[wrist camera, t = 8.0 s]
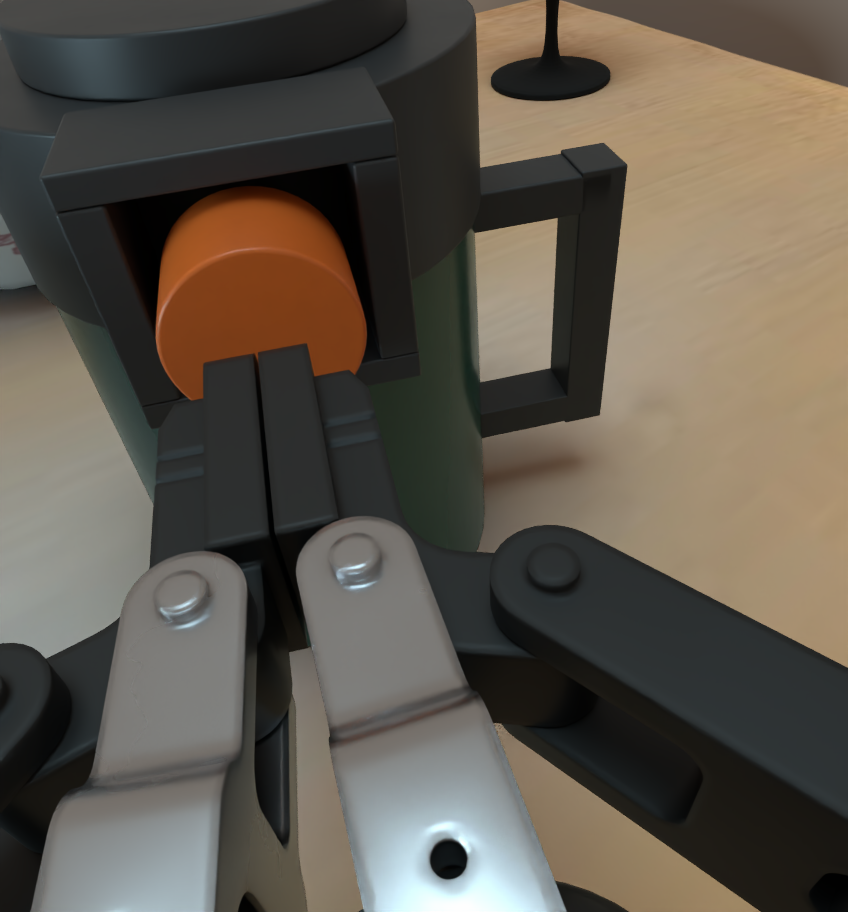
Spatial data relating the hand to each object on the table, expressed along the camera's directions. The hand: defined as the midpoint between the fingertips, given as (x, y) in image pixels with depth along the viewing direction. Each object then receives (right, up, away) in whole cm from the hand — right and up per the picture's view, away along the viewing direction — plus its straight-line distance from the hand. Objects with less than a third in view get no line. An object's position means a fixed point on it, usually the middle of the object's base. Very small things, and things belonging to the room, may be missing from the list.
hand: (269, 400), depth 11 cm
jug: (0, -4, +18) cm, 18 cm away
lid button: (0, +1, +3) cm, 3 cm away
